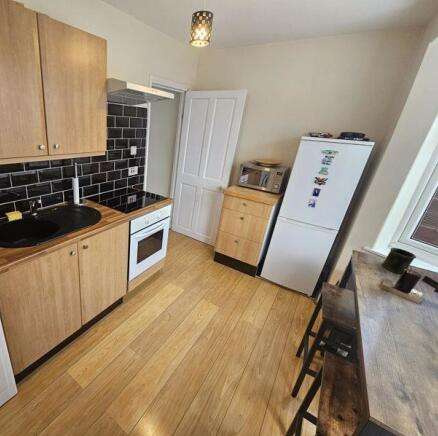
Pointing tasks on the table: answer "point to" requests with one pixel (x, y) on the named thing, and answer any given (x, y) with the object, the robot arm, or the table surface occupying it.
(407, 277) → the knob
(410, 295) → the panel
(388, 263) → the mug
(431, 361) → the table surface
